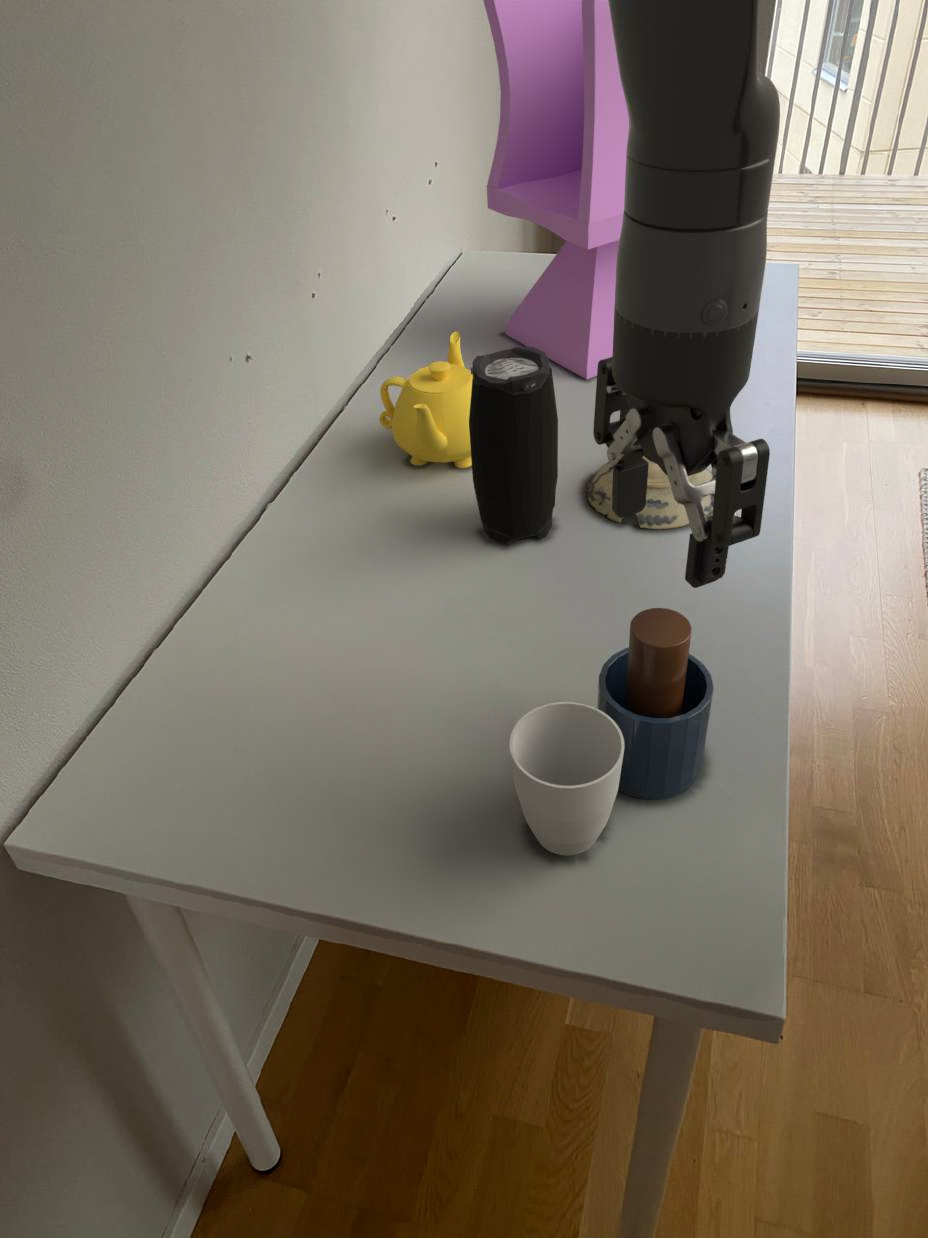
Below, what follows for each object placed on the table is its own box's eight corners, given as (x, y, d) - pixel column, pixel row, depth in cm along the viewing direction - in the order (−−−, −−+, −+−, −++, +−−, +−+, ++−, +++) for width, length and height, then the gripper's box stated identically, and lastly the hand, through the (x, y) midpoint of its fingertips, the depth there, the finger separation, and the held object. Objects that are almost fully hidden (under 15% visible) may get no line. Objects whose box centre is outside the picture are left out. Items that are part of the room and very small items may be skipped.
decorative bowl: (718, 461, 112) (592, 454, 115) (722, 434, 110) (593, 428, 112) (720, 535, 101) (580, 526, 104) (724, 507, 99) (581, 498, 101)
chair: (493, 333, 143) (477, -20, 114) (607, 295, 152) (619, -43, 123) (585, 386, 129) (593, -4, 99) (705, 340, 137) (746, -32, 108)
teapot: (403, 408, 127) (394, 327, 120) (511, 413, 124) (508, 330, 117) (360, 489, 112) (346, 402, 105) (481, 496, 109) (475, 408, 102)
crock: (719, 749, 78) (733, 671, 72) (668, 817, 73) (677, 740, 67) (630, 706, 83) (636, 630, 77) (575, 767, 78) (577, 691, 72)
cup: (639, 823, 73) (647, 737, 67) (575, 892, 69) (576, 807, 62) (557, 772, 77) (557, 686, 71) (492, 833, 73) (486, 748, 67)
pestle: (685, 749, 78) (702, 621, 69) (658, 783, 75) (672, 655, 66) (639, 726, 80) (649, 600, 71) (611, 758, 77) (618, 631, 68)
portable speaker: (461, 534, 104) (447, 370, 91) (511, 495, 109) (504, 334, 97) (524, 559, 100) (518, 390, 87) (573, 517, 105) (574, 352, 92)
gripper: (836, 329, 45) (783, 589, 56) (671, 243, 56) (652, 477, 66) (706, 365, 43) (676, 628, 54) (559, 269, 54) (558, 506, 64)
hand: (663, 544), depth 60 cm, fingers open, 8 cm apart
